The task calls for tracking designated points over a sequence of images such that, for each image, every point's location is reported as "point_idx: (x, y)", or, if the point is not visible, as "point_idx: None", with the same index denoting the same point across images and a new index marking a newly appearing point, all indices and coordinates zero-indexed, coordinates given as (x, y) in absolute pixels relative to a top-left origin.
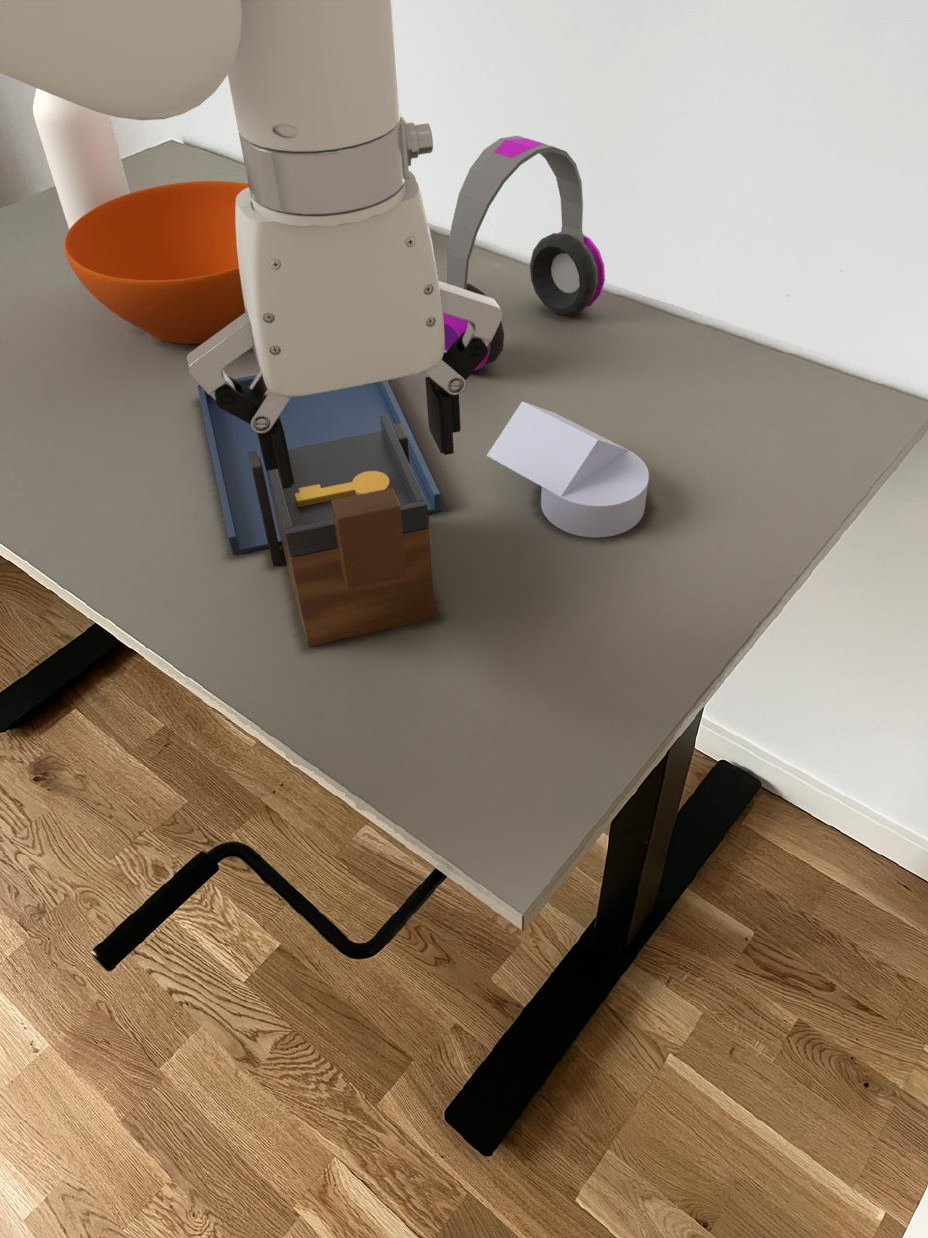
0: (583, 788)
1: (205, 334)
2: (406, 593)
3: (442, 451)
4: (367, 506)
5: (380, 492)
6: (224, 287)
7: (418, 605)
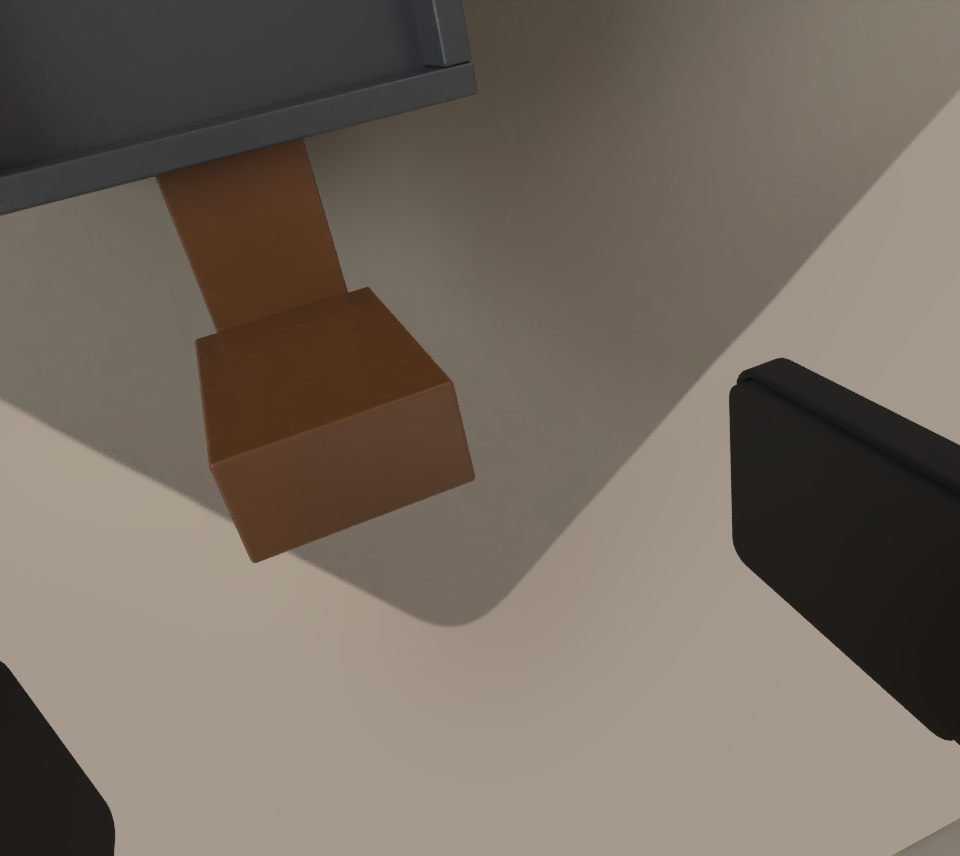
0: (567, 481)
1: None
2: None
3: (747, 564)
4: (361, 493)
5: (407, 411)
6: None
7: None
